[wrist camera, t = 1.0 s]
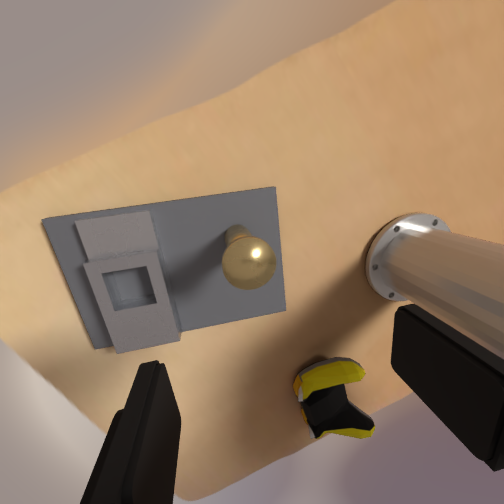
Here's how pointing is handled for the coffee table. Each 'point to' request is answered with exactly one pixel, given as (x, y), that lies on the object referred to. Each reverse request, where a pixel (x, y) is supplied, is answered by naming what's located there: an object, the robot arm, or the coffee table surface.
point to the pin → (247, 259)
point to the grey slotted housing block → (126, 257)
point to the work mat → (182, 259)
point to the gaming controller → (332, 399)
